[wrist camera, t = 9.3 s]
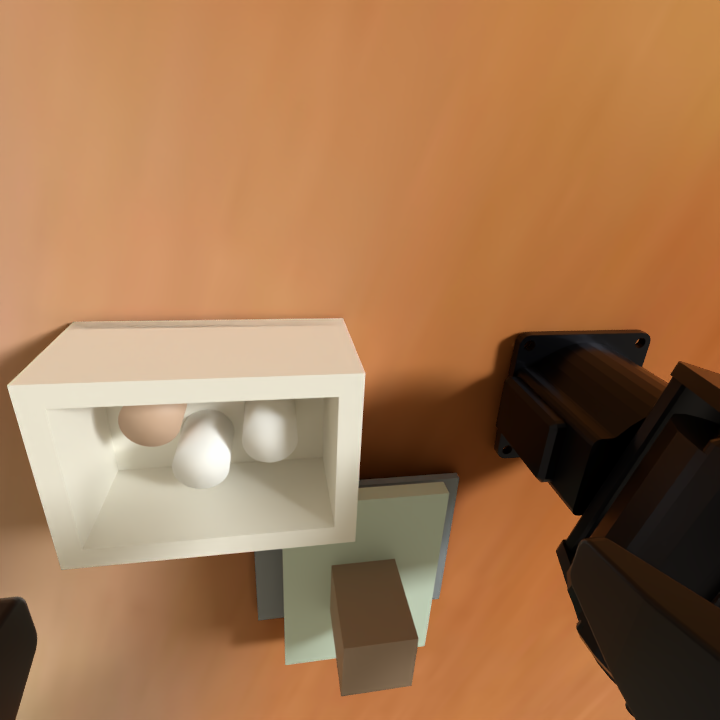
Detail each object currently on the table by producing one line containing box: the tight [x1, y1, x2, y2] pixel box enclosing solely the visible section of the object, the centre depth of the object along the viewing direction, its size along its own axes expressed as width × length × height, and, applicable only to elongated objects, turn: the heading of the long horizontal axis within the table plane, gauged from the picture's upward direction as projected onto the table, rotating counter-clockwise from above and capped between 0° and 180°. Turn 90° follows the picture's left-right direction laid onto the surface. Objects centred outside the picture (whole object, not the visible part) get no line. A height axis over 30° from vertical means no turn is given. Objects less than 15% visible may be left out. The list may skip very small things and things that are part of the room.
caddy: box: [7, 318, 365, 570], centre depth 18 cm, size 10×7×5 cm
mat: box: [254, 473, 459, 620], centre depth 25 cm, size 10×8×1 cm
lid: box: [282, 482, 449, 696], centre depth 22 cm, size 10×7×6 cm
